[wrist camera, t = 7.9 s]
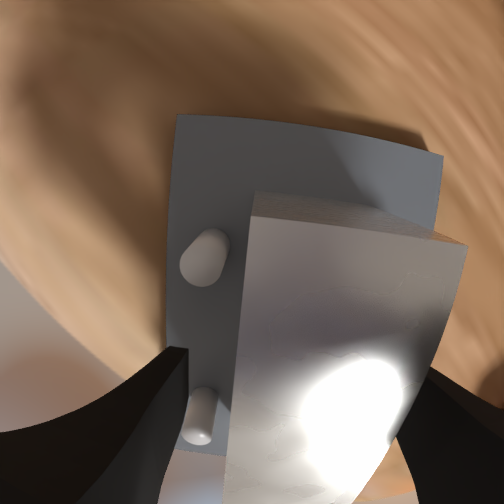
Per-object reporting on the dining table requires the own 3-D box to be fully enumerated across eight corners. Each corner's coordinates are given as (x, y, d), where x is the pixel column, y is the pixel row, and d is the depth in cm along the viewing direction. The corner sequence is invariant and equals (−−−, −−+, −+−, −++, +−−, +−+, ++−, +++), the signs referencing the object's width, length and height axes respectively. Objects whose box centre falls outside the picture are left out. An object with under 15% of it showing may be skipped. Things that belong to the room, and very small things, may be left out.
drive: (367, 205, 10) (468, 245, 5) (316, 418, 13) (335, 524, 7) (255, 190, 10) (251, 216, 5) (231, 414, 13) (220, 523, 7)
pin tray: (431, 156, 11) (482, 156, 7) (349, 446, 15) (361, 491, 12) (183, 118, 11) (154, 100, 7) (176, 436, 15) (163, 482, 12)
